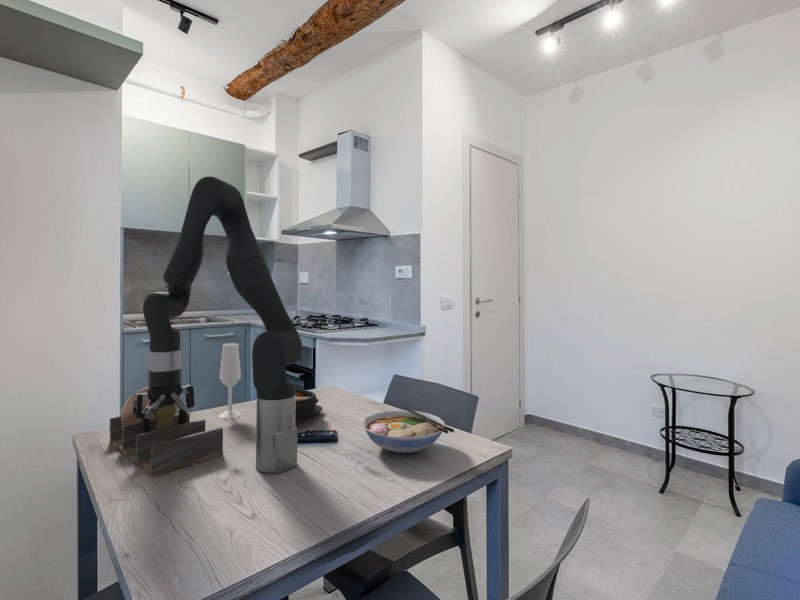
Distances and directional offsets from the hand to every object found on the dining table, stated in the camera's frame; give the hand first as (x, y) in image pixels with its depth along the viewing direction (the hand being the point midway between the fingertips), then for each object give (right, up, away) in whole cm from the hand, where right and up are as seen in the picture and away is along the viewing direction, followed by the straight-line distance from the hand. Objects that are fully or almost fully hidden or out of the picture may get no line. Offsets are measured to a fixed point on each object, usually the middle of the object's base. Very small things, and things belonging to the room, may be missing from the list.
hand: (164, 428), depth 108 cm
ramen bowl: (+63, -7, +4) cm, 64 cm away
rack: (0, -6, 0) cm, 6 cm away
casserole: (+27, -6, +26) cm, 38 cm away
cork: (0, -5, 0) cm, 5 cm away
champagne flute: (+5, -5, +29) cm, 30 cm away
